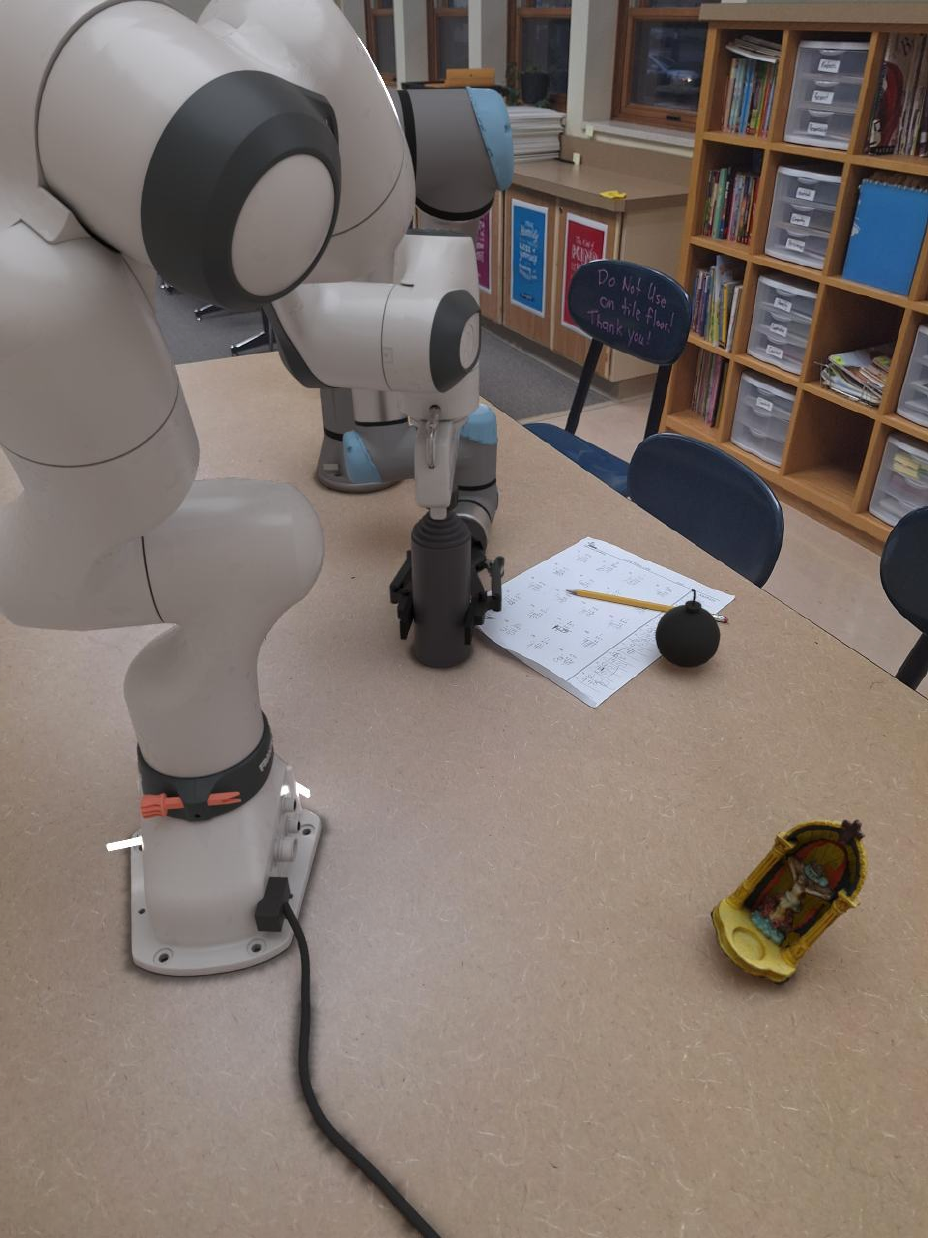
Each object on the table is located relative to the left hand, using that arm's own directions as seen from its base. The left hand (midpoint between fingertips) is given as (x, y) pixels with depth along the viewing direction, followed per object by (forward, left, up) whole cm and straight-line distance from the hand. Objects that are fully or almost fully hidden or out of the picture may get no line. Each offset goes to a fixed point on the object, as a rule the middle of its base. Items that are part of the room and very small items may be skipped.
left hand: (440, 505), depth 100 cm
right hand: (-5, +1, -15) cm, 16 cm away
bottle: (0, 0, -21) cm, 21 cm away
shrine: (-47, -24, -21) cm, 57 cm away
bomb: (-6, -30, -21) cm, 38 cm away
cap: (0, 0, +2) cm, 2 cm away
